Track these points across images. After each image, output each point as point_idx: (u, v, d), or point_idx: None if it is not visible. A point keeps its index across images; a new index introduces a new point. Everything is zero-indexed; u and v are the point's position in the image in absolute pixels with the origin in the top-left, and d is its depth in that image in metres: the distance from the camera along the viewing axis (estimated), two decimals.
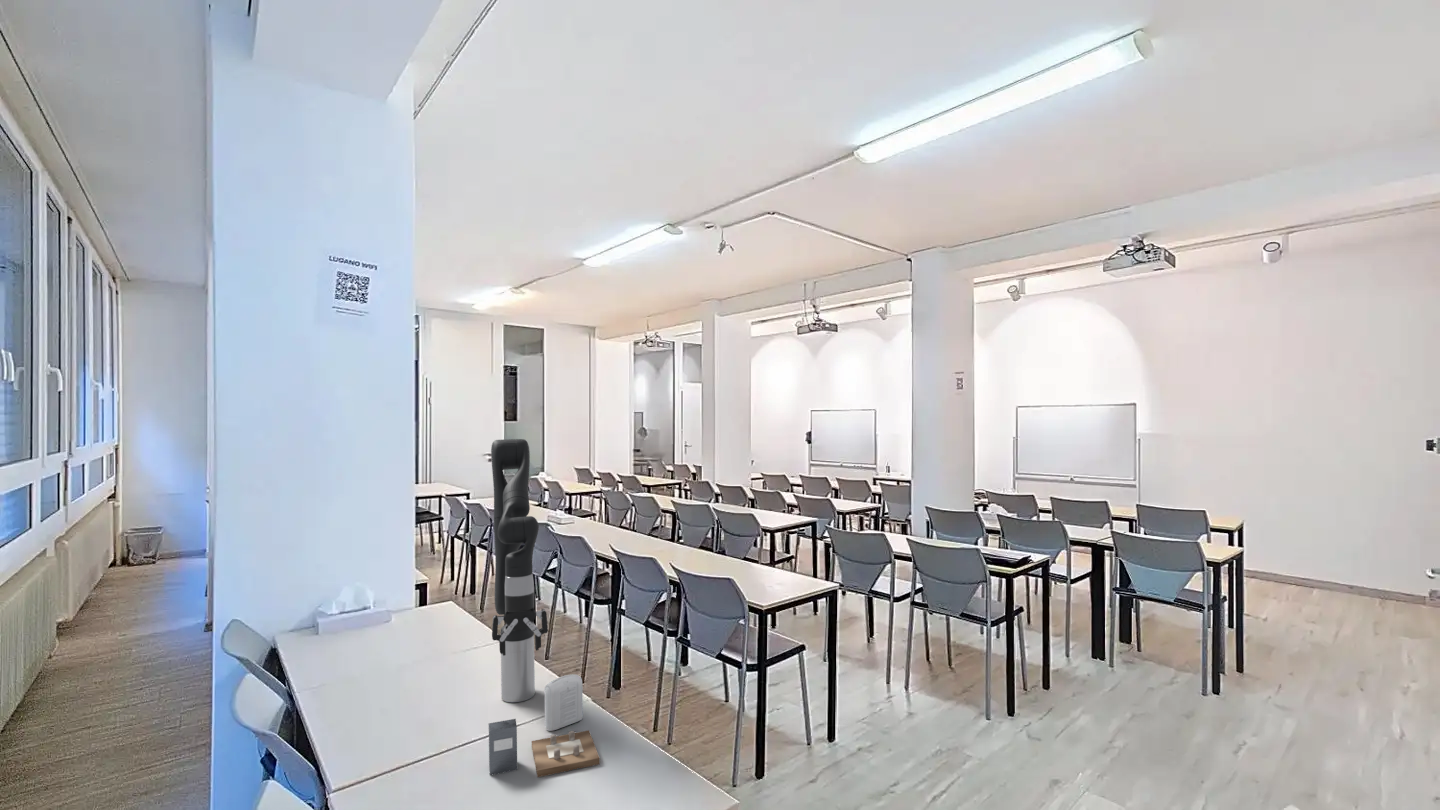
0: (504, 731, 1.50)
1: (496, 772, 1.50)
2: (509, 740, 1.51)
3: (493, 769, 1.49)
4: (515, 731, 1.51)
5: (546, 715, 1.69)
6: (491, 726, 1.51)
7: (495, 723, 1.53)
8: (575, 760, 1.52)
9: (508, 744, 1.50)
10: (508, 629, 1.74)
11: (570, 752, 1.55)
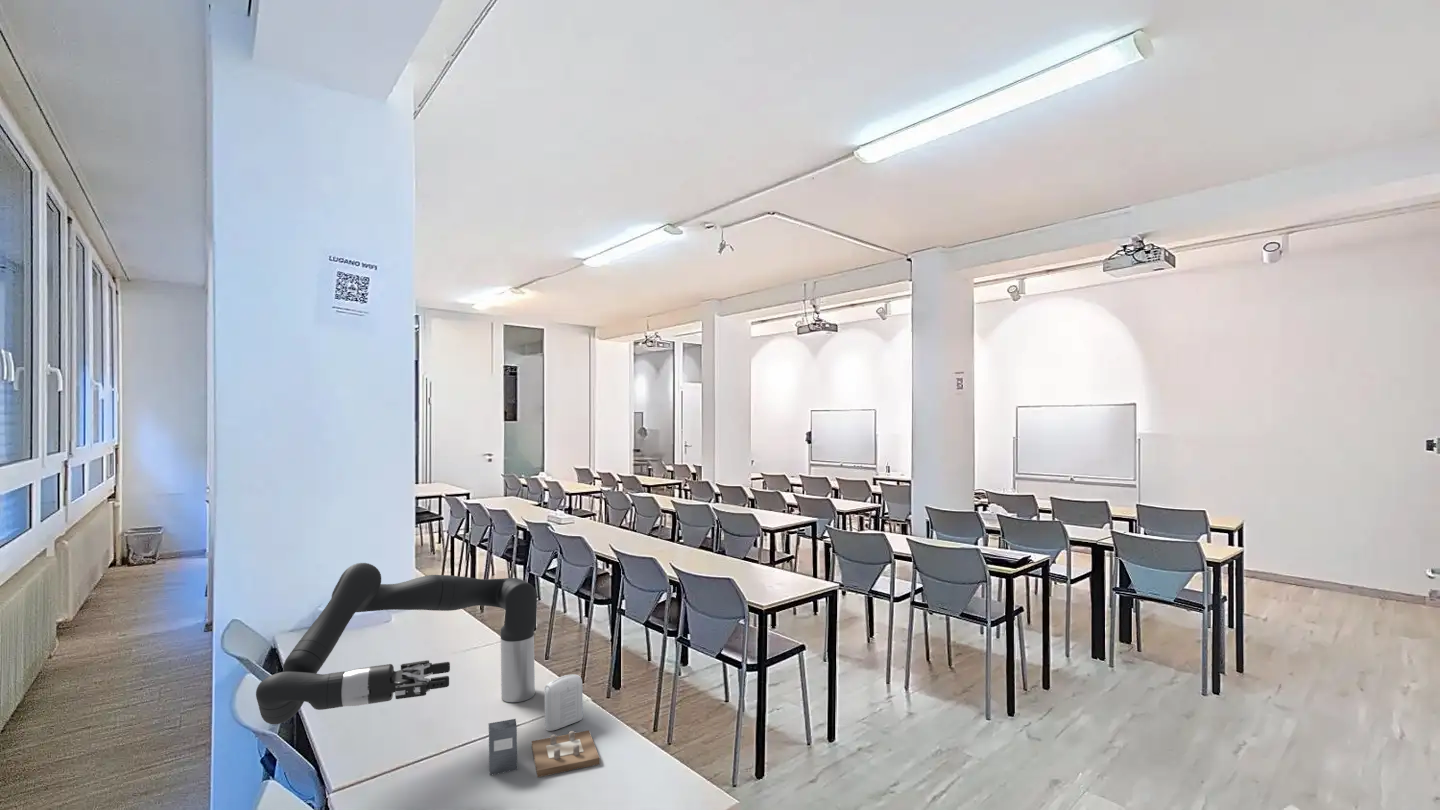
0: (504, 731, 1.50)
1: (496, 772, 1.50)
2: (509, 740, 1.51)
3: (493, 769, 1.49)
4: (515, 731, 1.51)
5: (546, 715, 1.69)
6: (491, 726, 1.51)
7: (495, 723, 1.53)
8: (575, 760, 1.52)
9: (508, 744, 1.50)
10: (414, 676, 1.42)
11: (570, 752, 1.55)
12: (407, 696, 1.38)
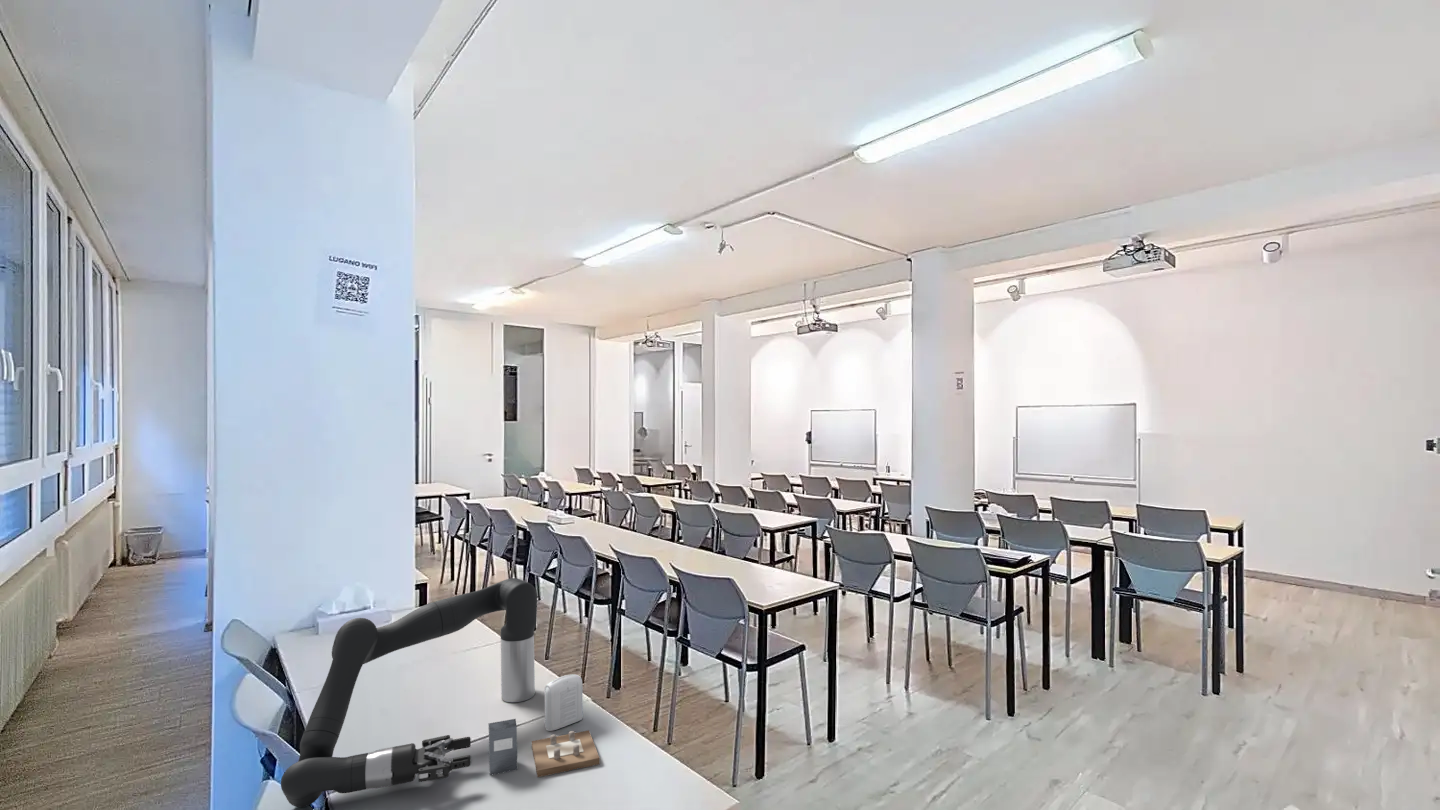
0: (504, 731, 1.50)
1: (496, 772, 1.50)
2: (509, 740, 1.51)
3: (493, 769, 1.49)
4: (515, 731, 1.51)
5: (546, 715, 1.69)
6: (491, 726, 1.51)
7: (495, 723, 1.53)
8: (575, 760, 1.52)
9: (508, 744, 1.50)
10: (436, 756, 1.44)
11: (570, 752, 1.55)
12: (430, 779, 1.40)
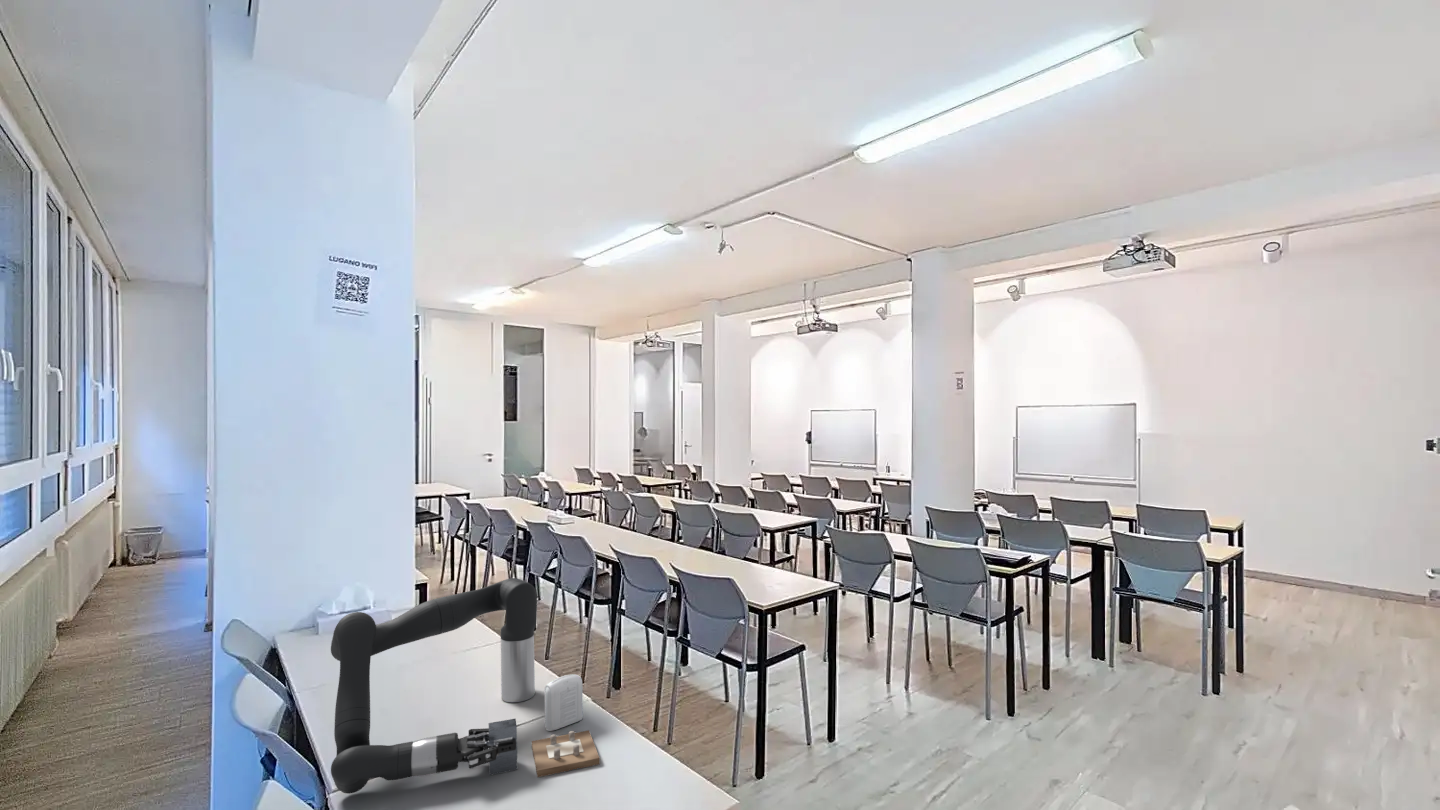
0: (504, 731, 1.50)
1: (496, 772, 1.49)
2: (509, 739, 1.51)
3: (493, 768, 1.49)
4: (515, 731, 1.51)
5: (546, 715, 1.69)
6: (491, 726, 1.51)
7: (495, 723, 1.53)
8: (575, 760, 1.52)
9: None
10: (481, 743, 1.48)
11: (570, 752, 1.55)
12: (480, 763, 1.44)
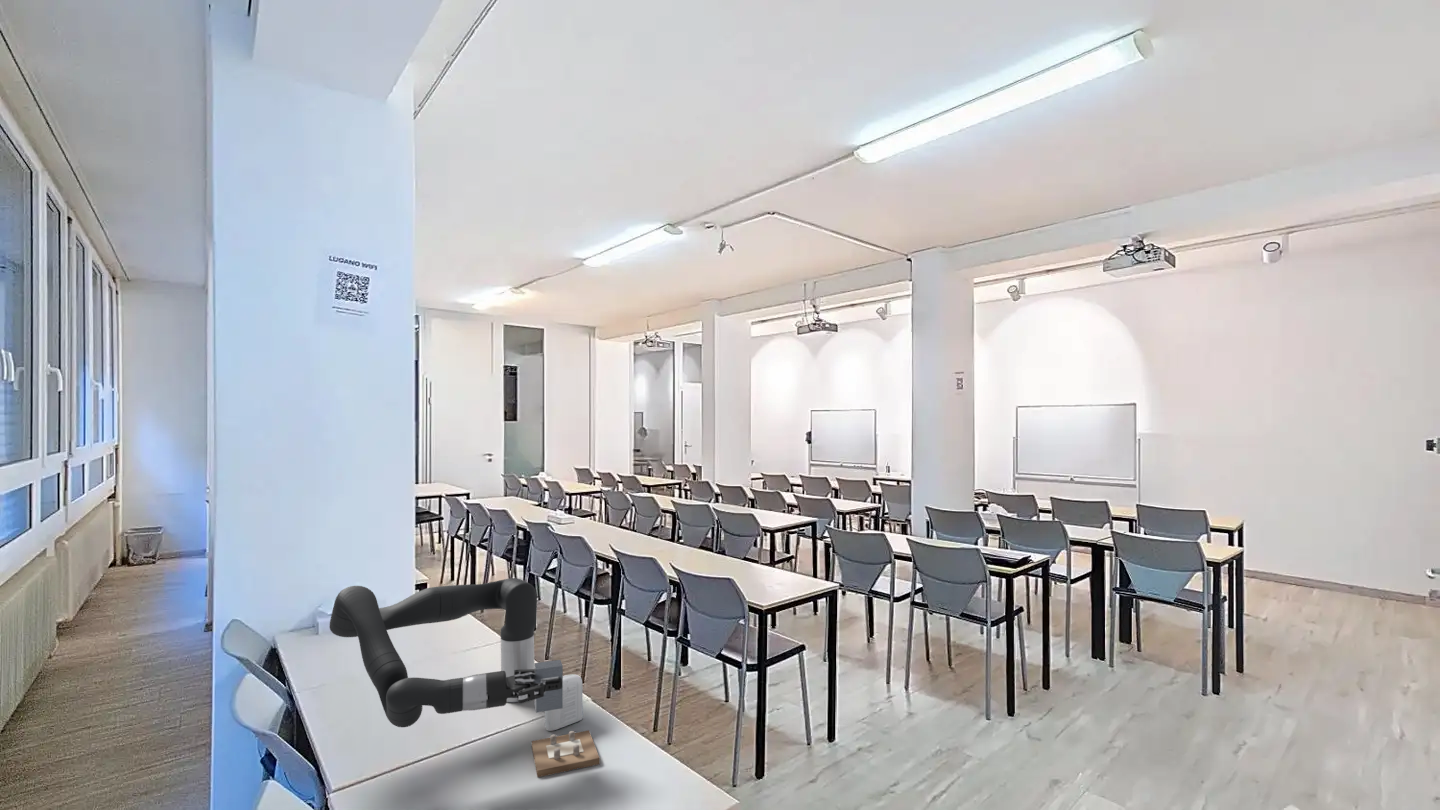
0: (551, 670, 1.54)
1: (542, 710, 1.53)
2: (555, 678, 1.54)
3: (540, 706, 1.53)
4: (561, 670, 1.55)
5: (546, 715, 1.69)
6: (538, 665, 1.55)
7: (541, 663, 1.56)
8: (575, 760, 1.52)
9: None
10: (529, 680, 1.52)
11: (570, 752, 1.55)
12: (529, 699, 1.48)
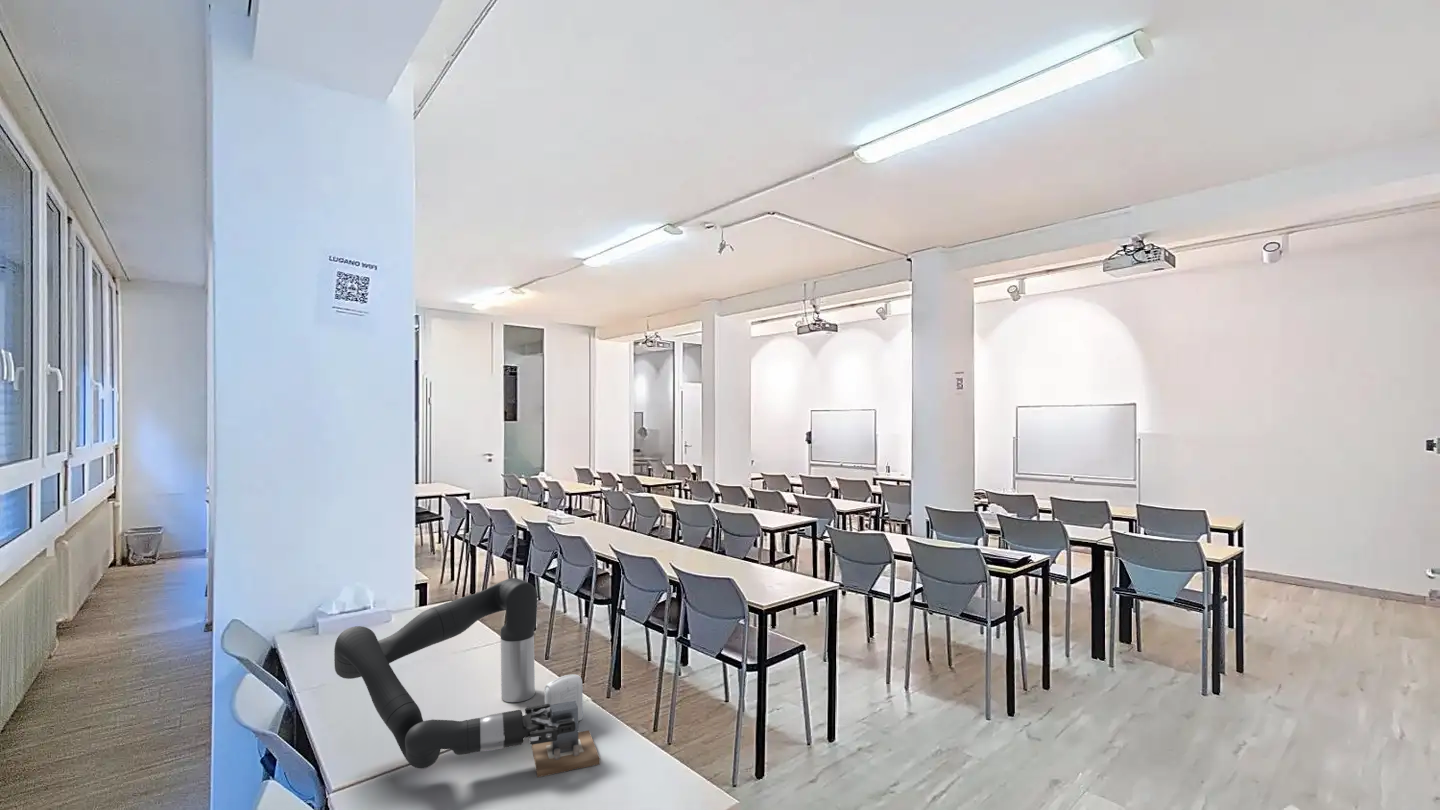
0: (566, 712, 1.55)
1: None
2: (571, 720, 1.56)
3: None
4: (576, 712, 1.56)
5: None
6: (553, 707, 1.56)
7: (556, 705, 1.58)
8: (575, 760, 1.52)
9: None
10: (543, 721, 1.52)
11: (570, 752, 1.55)
12: (541, 741, 1.48)
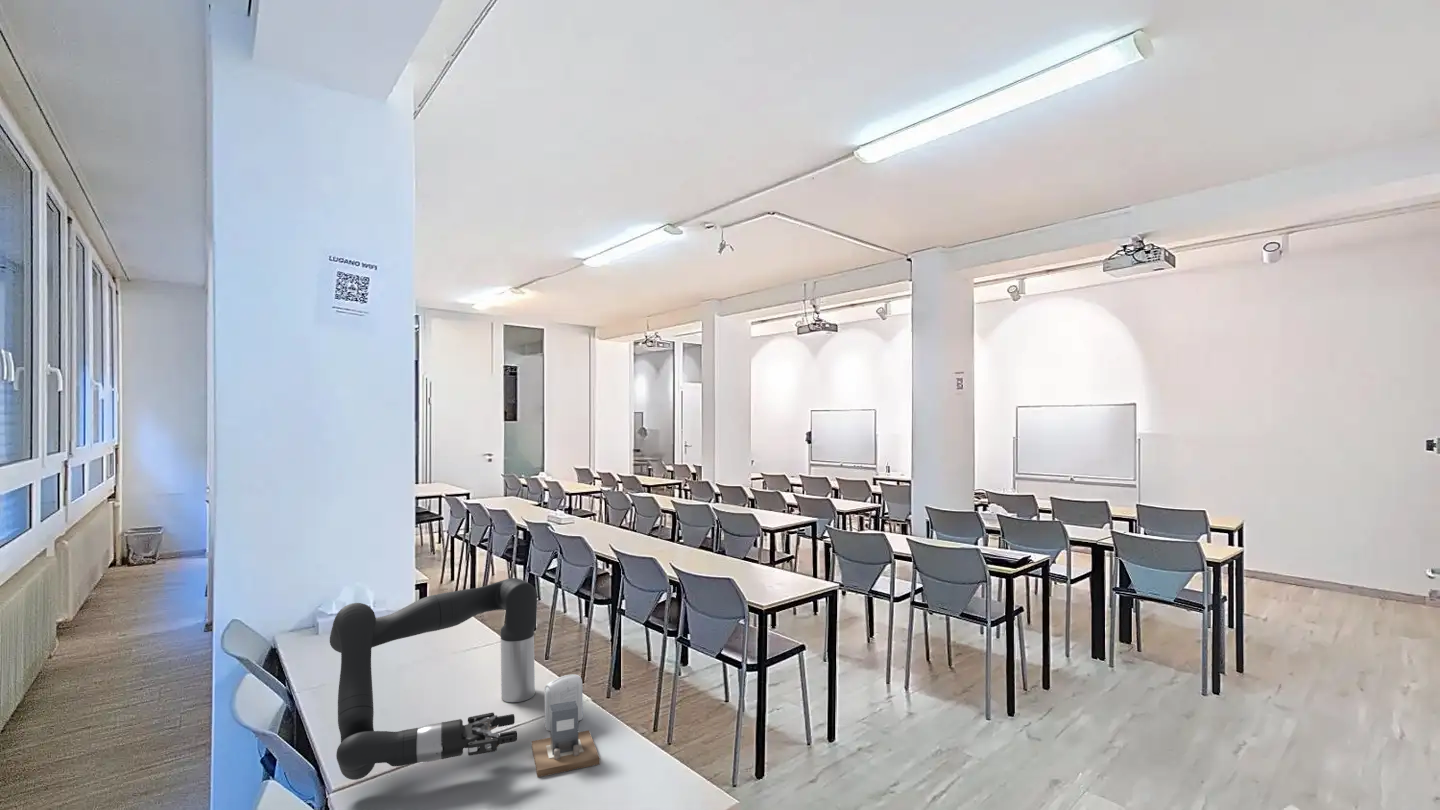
0: (566, 712, 1.55)
1: None
2: (571, 720, 1.56)
3: None
4: (576, 712, 1.56)
5: (546, 715, 1.69)
6: (553, 707, 1.56)
7: (556, 705, 1.58)
8: (575, 760, 1.52)
9: (570, 725, 1.55)
10: (484, 731, 1.48)
11: (570, 752, 1.55)
12: (479, 752, 1.44)
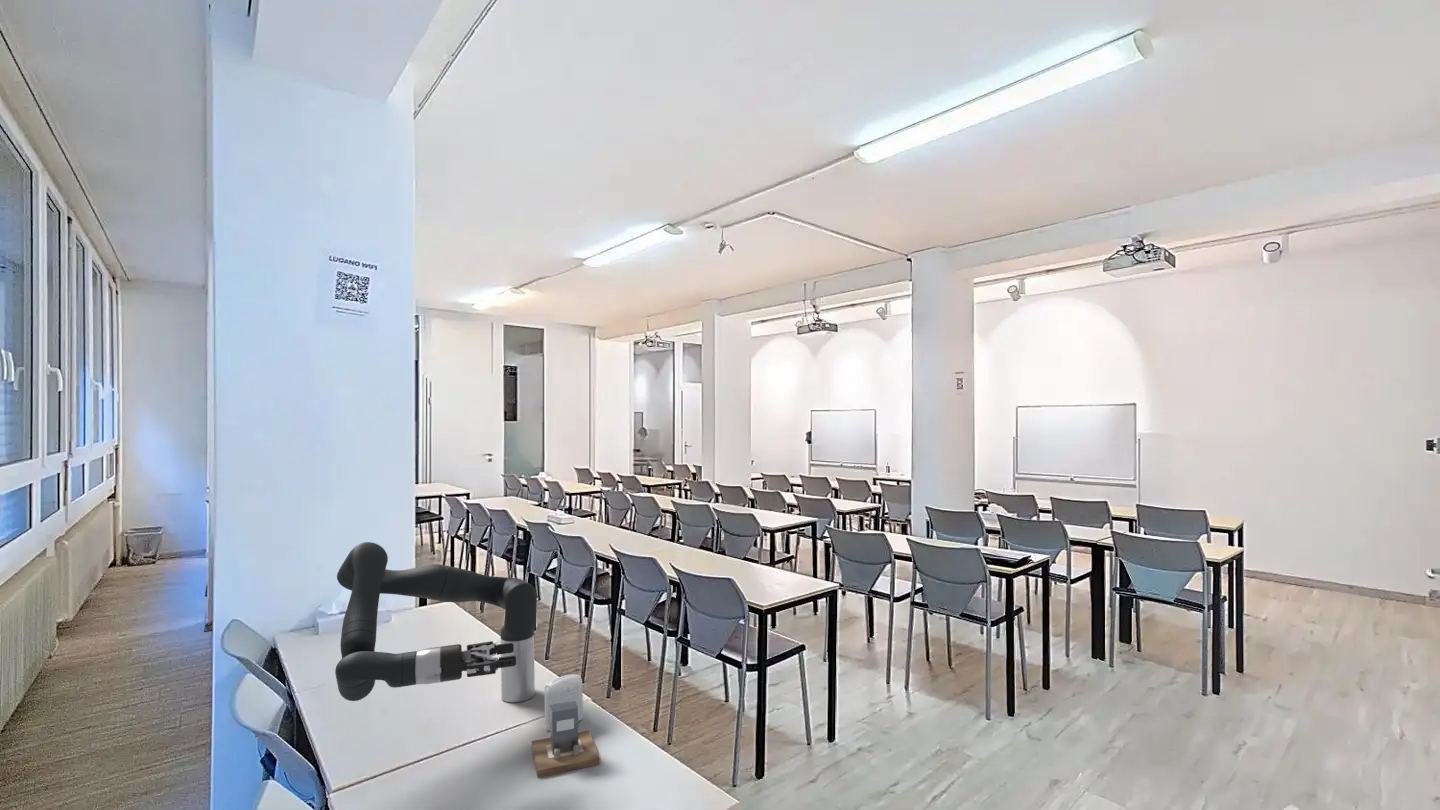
0: (566, 712, 1.55)
1: None
2: (571, 720, 1.56)
3: None
4: (576, 712, 1.56)
5: (546, 715, 1.69)
6: (553, 707, 1.56)
7: (556, 705, 1.58)
8: (575, 760, 1.52)
9: (570, 725, 1.55)
10: (483, 655, 1.47)
11: (570, 752, 1.55)
12: (478, 674, 1.43)
